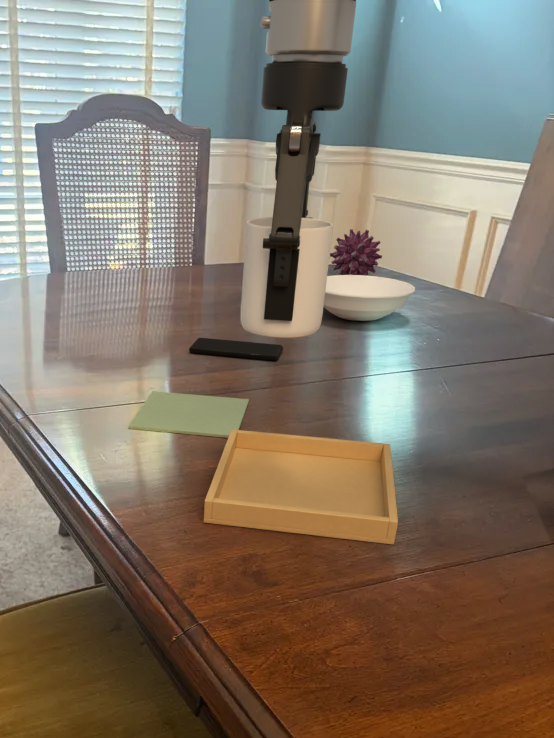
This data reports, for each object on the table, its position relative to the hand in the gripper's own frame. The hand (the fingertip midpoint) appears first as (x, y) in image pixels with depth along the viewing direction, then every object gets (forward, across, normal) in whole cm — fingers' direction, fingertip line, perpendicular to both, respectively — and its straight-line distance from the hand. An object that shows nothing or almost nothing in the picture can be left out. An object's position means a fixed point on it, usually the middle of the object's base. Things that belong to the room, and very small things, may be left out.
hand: (282, 304), depth 80 cm
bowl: (+19, -75, +11) cm, 78 cm away
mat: (+19, -15, -12) cm, 27 cm away
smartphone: (+19, -46, -9) cm, 51 cm away
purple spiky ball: (+19, -112, +11) cm, 114 cm away
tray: (+19, +5, +4) cm, 20 cm away
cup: (+2, 0, 0) cm, 2 cm away
